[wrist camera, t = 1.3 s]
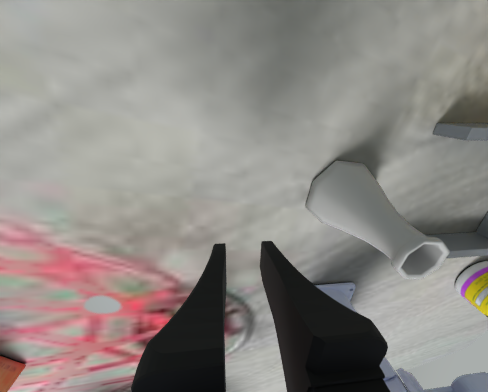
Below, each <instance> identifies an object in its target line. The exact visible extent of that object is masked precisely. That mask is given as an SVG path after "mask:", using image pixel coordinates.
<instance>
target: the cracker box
mask: <svg viewBox="0 0 488 392" xmlns="http://www.w3.org/2000/svg"><path fill="white" fill-rule="evenodd" d="M25 366H26V365H25V364H22V363H19V362H16V361H13V360H11V359H8V358H5V357H2V356H0V392H7V391H8V390H9V389H10V387H11V386H12V384H13V383H14V382H15V380H16V379H17V377H18V376H19V375H20V373H21V372H22V370H23V369H24V368H25Z"/></svg>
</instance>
